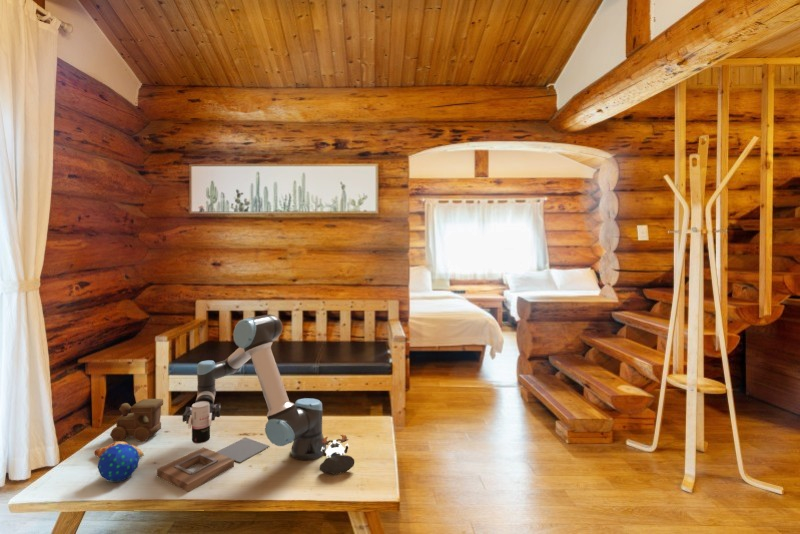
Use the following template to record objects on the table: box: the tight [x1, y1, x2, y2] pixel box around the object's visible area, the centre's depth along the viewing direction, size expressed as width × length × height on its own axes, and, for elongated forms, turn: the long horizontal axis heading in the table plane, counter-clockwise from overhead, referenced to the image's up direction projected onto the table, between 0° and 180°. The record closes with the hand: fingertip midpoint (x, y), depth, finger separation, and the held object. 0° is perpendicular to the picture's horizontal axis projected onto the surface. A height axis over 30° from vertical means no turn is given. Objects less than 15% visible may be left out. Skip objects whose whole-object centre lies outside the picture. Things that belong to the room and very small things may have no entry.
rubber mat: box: [215, 437, 270, 464], centre depth 180 cm, size 16×16×1 cm
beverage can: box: [191, 401, 211, 445], centre depth 164 cm, size 6×6×15 cm
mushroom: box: [97, 443, 140, 483], centre depth 159 cm, size 14×14×15 cm
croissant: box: [93, 441, 144, 459], centre depth 173 cm, size 21×10×8 cm, turn 89°
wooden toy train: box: [109, 398, 164, 442], centre depth 191 cm, size 20×11×17 cm, turn 92°
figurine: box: [319, 434, 355, 475], centre depth 169 cm, size 14×10×18 cm
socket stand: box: [156, 446, 235, 492], centre depth 163 cm, size 20×20×3 cm
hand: (199, 423), depth 159 cm, fingers closed on beverage can, 6 cm apart
